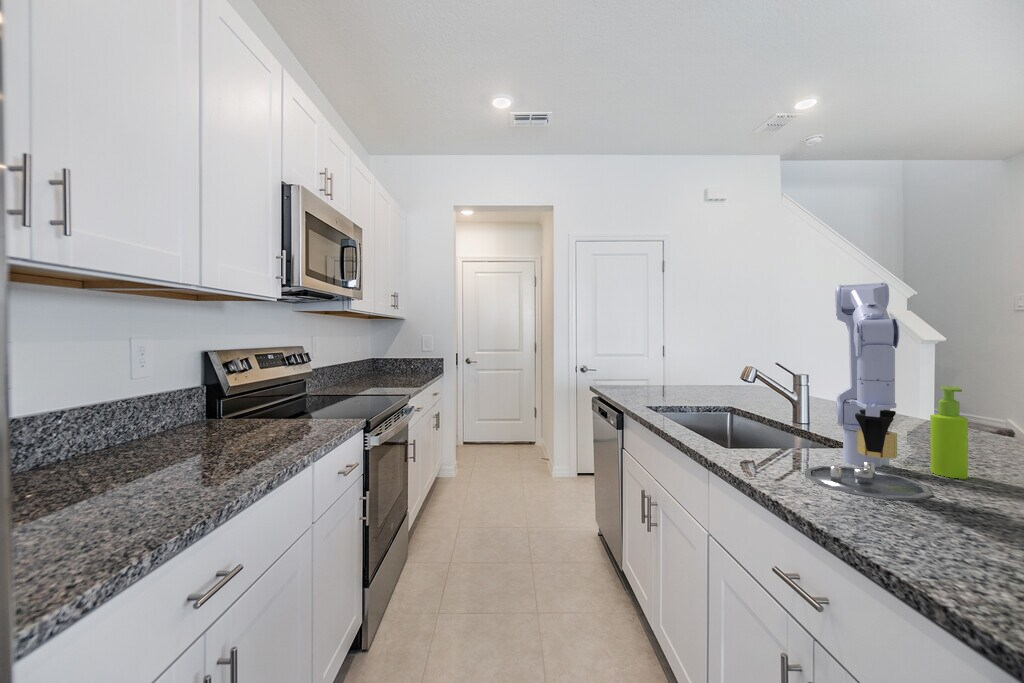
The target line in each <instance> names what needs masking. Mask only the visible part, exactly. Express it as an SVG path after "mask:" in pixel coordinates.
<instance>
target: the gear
mask: <svg viewBox="0 0 1024 683" xmlns="http://www.w3.org/2000/svg"><path fill="white" fill-rule="evenodd" d="M857 452H858V453H860V454H863V455H867V456H871V457H877V458H889V459H896V458H897V457H898V433H897V432H894V431H892V430H891V431H890V430H888V431H887V433H886V436H885V441H884V446H883V450H882V452H881V453H877V452H870V451H867V448H866V445H865V441H864V436H863V432H862V429H858V430H857Z"/></svg>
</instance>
